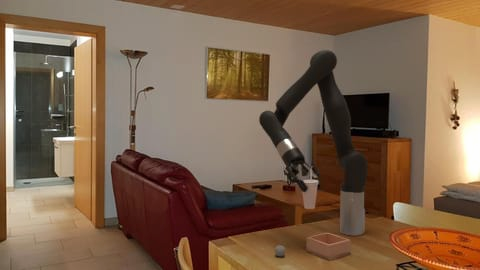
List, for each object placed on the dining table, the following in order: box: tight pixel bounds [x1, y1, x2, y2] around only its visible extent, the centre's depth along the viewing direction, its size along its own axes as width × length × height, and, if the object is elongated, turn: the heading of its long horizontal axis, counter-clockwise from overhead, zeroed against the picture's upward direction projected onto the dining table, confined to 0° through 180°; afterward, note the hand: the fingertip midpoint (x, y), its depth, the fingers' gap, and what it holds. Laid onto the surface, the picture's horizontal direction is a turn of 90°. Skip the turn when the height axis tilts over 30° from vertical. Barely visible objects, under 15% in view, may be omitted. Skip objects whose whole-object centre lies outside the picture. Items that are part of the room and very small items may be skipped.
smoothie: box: [301, 169, 319, 210], centre depth 141 cm, size 6×6×14 cm
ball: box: [274, 245, 286, 257], centre depth 134 cm, size 4×4×4 cm
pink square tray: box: [305, 232, 352, 261], centre depth 138 cm, size 11×11×5 cm
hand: (312, 189), depth 139 cm, fingers closed on smoothie, 6 cm apart
